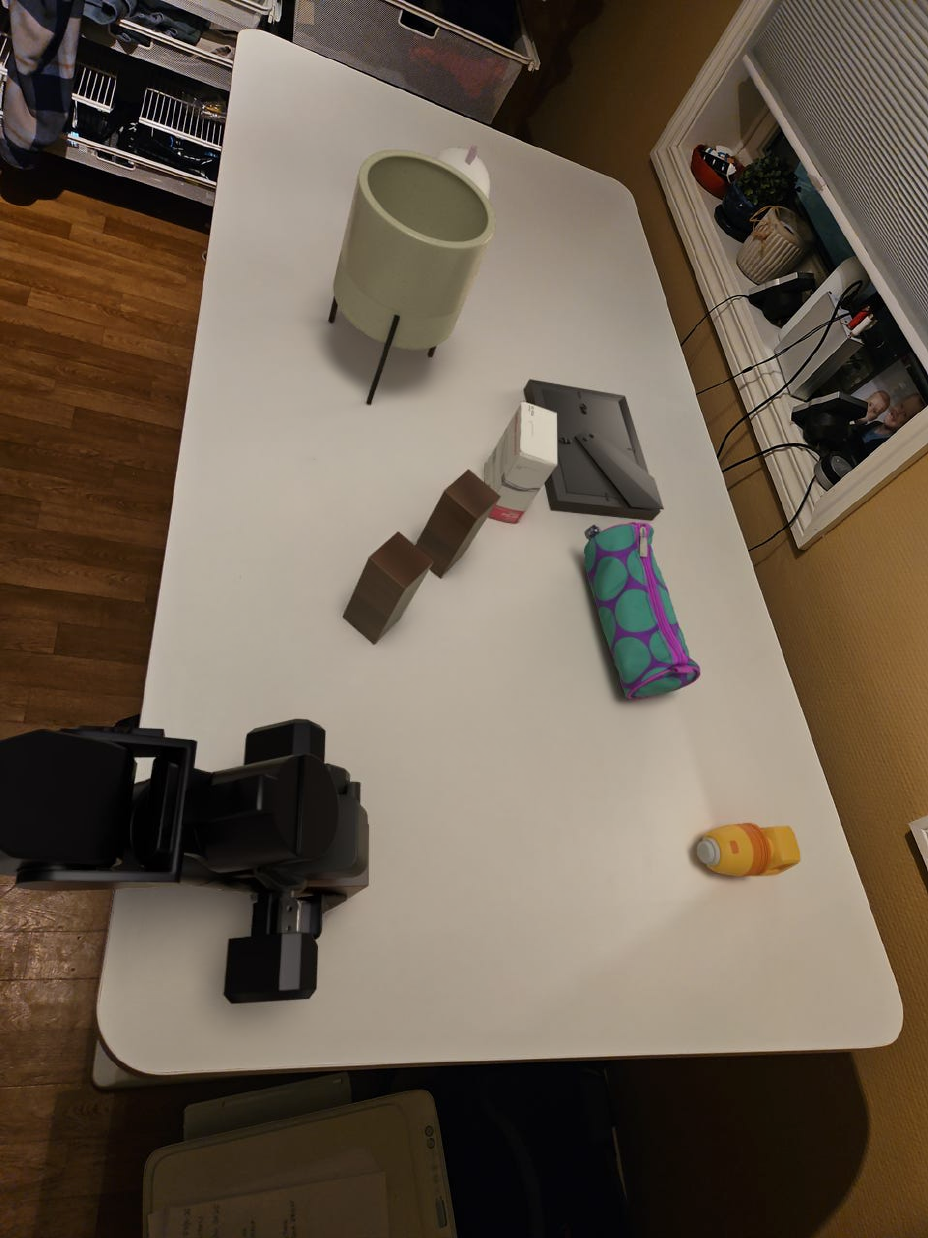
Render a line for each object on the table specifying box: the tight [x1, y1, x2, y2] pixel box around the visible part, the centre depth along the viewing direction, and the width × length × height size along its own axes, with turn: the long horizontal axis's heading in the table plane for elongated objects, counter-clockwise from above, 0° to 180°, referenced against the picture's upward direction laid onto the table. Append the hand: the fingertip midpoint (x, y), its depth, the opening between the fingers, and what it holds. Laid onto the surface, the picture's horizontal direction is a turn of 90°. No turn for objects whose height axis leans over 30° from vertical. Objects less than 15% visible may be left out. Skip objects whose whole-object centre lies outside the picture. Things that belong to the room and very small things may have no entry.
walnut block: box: [342, 530, 434, 645], centre depth 72 cm, size 4×4×12 cm
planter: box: [327, 149, 497, 405], centre depth 85 cm, size 15×16×23 cm
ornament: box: [432, 144, 491, 199], centre depth 110 cm, size 10×10×12 cm
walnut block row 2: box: [414, 469, 501, 579], centre depth 79 cm, size 4×4×12 cm
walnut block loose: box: [294, 823, 370, 900], centre depth 58 cm, size 4×4×12 cm
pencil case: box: [583, 521, 701, 700], centre depth 84 cm, size 21×9×10 cm, turn 11°
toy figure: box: [696, 822, 801, 877], centre depth 77 cm, size 5×6×12 cm
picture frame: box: [523, 378, 665, 521], centre depth 99 cm, size 16×3×21 cm
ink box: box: [483, 401, 557, 524], centre depth 87 cm, size 9×5×12 cm, turn 176°
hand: (343, 867), depth 58 cm, fingers closed on walnut block loose, 4 cm apart
